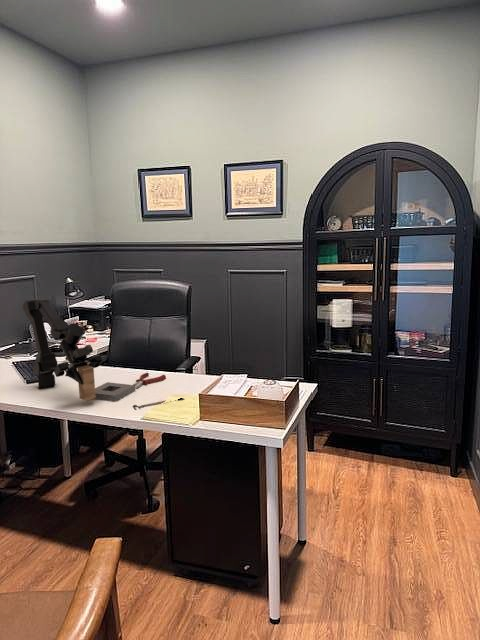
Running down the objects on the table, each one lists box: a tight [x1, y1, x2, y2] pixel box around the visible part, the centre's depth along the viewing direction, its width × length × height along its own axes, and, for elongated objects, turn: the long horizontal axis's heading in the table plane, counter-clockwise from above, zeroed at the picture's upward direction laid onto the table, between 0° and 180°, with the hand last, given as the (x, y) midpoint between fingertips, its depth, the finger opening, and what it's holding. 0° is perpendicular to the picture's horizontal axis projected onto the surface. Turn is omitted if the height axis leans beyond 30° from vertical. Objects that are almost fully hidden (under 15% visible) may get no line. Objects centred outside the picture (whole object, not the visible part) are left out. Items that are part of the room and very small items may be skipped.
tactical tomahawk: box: [132, 400, 166, 411], centre depth 179 cm, size 21×7×1 cm, turn 116°
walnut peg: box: [77, 365, 96, 402], centre depth 179 cm, size 4×4×12 cm
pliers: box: [132, 372, 167, 389], centre depth 206 cm, size 12×20×3 cm, turn 157°
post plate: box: [92, 381, 136, 402], centre depth 191 cm, size 14×14×2 cm
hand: (88, 382), depth 178 cm, fingers closed on walnut peg, 4 cm apart
